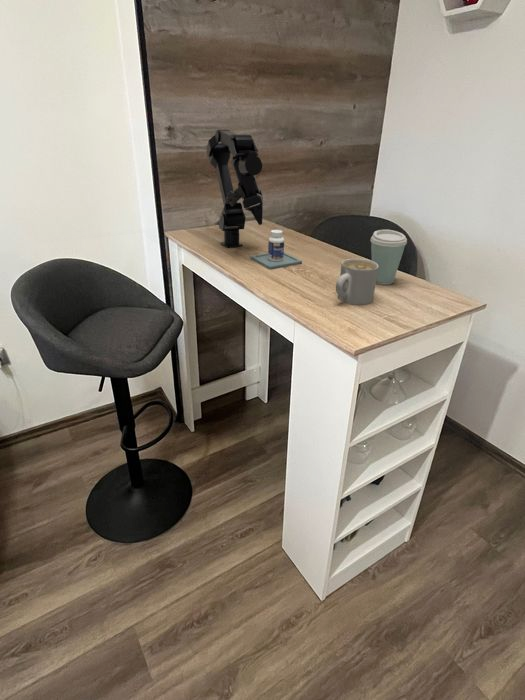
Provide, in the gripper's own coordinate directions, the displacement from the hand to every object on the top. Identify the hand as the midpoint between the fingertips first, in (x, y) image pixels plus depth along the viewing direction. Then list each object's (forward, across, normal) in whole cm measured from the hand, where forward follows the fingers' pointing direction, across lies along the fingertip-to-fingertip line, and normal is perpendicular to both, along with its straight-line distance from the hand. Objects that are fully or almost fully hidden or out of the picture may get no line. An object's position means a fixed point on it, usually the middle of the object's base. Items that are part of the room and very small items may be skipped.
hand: (260, 221), depth 147 cm
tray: (+13, +6, +1) cm, 14 cm away
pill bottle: (+13, +6, +1) cm, 14 cm away
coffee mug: (+22, +38, +20) cm, 48 cm away
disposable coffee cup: (+25, +24, +32) cm, 47 cm away
